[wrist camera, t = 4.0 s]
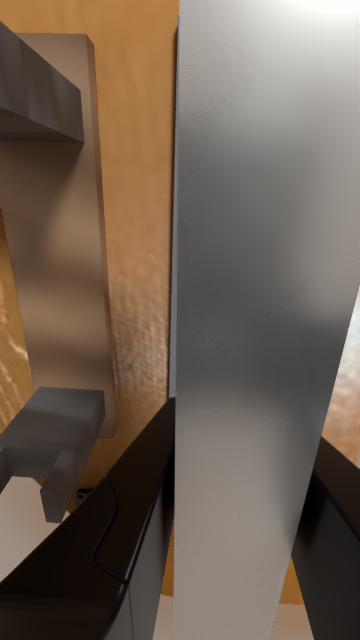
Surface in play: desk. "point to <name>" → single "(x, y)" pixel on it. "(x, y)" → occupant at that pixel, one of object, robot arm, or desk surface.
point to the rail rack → (55, 258)
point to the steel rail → (258, 289)
